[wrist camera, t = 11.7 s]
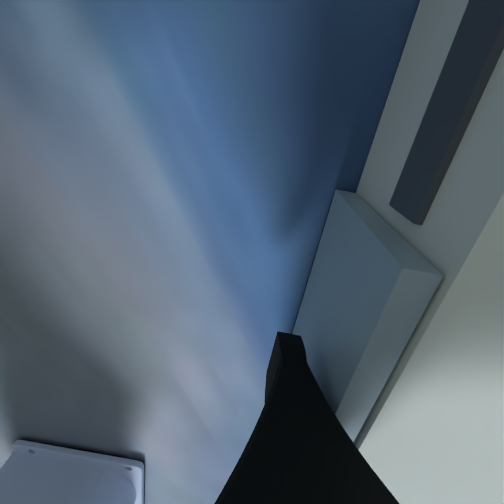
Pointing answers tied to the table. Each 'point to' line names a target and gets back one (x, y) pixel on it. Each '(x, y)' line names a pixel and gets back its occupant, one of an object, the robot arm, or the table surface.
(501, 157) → the player box
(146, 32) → the table surface
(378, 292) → the sliding drawer
